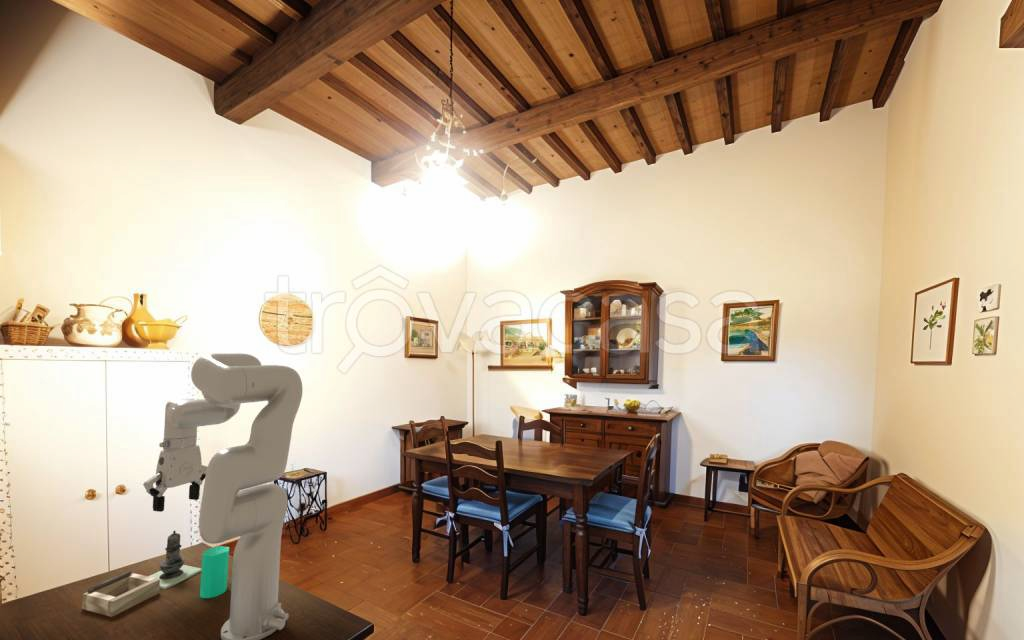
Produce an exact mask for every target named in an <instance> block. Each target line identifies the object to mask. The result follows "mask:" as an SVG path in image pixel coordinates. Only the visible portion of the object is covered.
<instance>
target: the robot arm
mask: <svg viewBox="0 0 1024 640" xmlns="http://www.w3.org/2000/svg"><path fill="white" fill-rule="evenodd" d="M190 377H191V382H192V383H193V385H194V386H195V388H197V390H199V391H200V392H201V395H202V397H203V398H201V399H194V398H178V399H171V400H169V401H167V403H166V404H165V411H164V427H163V428H164V429H163V430H164V431H163V439H162V442H159V444H158V446H159V447H160V448H162V450H160V452H159V455H158V459H157V464H156V469H155V474H154V475H152V476H151V477H150V478H149V479H147V480H146V481H145V482H144V483H143V484H142V485H143V487H144V488H145V490H146V493H148V494H149V495H150V496H151V497H152V510H153V511H154V512H158V513H159V512H160V513H161V512H164V511H165V501H166V500H165V499H166V497H165V496H164V494H165V493H166V492H167V490H168V489H169V488H170V489H171V488H176V487H179V486H183V485H186V484H189V487H188V488H189V490H188V499H189V500H192V501H193V500H194V501H198V500H199V499H200V493H201V486H202V484H203V483H204V484H203V490H202V496H201V502H200V503H201V504H200V509H199V517H198V530H199V535H200V537H201V539H202V541H204V542H205V543H207V544H210V545H217V544H221V543H224V542H227V541H230V540H234V539H236V538H239V539H238V540H237V543H236V544H235V547H234V550H233V559H232V573H231V587H230V589H231V591H230V610H229V618H228V619H227V620H226V621H225V622H224V624H222V626H221V628H220V638H221V640H262V639H265V638H266V637H268V636H270V635H272V634H273V633H274V632H276V631H277V630H279V631H281V630H283V628H285V625H286V621H287V620H288V619H289V617H290V615H289V613H287V612H285V611H284V610H283V609H282V603H281V602H278V601H279V584H280V583H279V581H280V566H281V565H280V563H281V562H280V561H281V546H282V545H281V544H282V534H283V526H284V522H285V518H286V514H287V511H288V503H289V502H288V501H289V500H288V494H287V492H286V490H285V489H284V488H283V487H282V486H281V485H279V484H276V483H275V484H274V483H271V482H274V481H276V480H279V479H280V478H281V477H282V476H283V475H284V473H285V471H286V469H287V465H288V459H289V454H290V453H289V452H290V446H291V440H292V432H293V427H294V421H295V419H296V417H297V414H298V411H299V408H300V406H301V402H302V398H303V389H304V388H303V381H302V378H301V376H300V375H299V372H298V371H296V370H295V369H294V368H293V367H289V366H286V365H277V364H276V365H275V364H274V365H272V364H270V365H269V364H268V365H267V364H266V365H265V364H264V365H263V364H262V363H261V361H260V360H259V359H258V358H257V356H254V355H252V354H248V353H241V352H240V353H239V352H238V353H225V352H224V353H218V352H217V353H206V354H204V355H202V356H200V357H198V358H197V360H196V361H195V362H194V363H193V365H192V368H191V374H190ZM259 402H267V404H266V405H265V406H264V407H263V408H262V409H261V410H260V411H259V412H258V414H257V415H256V416H255V418H254V419H253V421H252V424H251V428H250V433H249V434H250V435H249V439H248V442H246V443H245V444H244V445H237V446H232V447H226V448H224V449H221V450H220V451H217V452H216V453H215V454H214V455H213V456H212V457H211V459H210V460H209V463H208V464H207V466H206V465H203V464H202V461H203V460H202V451H201V449H200V445H199V444H197V441H198V440H197V439H198V436H197V435H198V428H199V427H206V426H213V425H220V424H223V423H225V422H228V421H229V420H230V419H232V418H233V417H234V416H236V414H238V412H239V410H240V408H241V404H249V403H259ZM203 481H204V482H203ZM190 483H191V484H190ZM154 484H155V486H154Z"/></svg>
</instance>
